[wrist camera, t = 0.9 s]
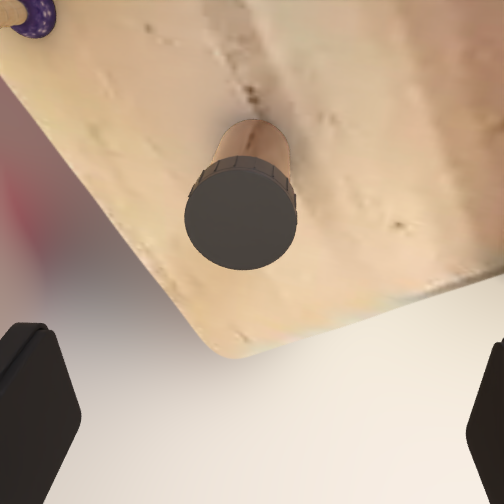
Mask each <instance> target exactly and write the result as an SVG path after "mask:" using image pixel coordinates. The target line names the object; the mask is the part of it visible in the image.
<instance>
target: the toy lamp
mask: <svg viewBox="0 0 504 504" xmlns="http://www.w3.org/2000/svg"><path fill="white" fill-rule="evenodd" d="M55 21H56V11H55V6H54V3H53V1H52V0H0V29H1V28H3V27H11V28H12V29H13V30H14V31H16V32H17V33H19V34H20V35H23V36H25V37H29V38H42V37H45V36H46V35H48V34H49V33H50V32H51V30H52V29H53V27H54V25H55Z"/></svg>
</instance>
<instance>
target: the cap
mask: <svg viewBox="0 0 504 504" xmlns="http://www.w3.org/2000/svg"><path fill="white" fill-rule="evenodd" d="M188 197H189V199H188V201H187V204H186V208H185V215H184V217H185V227H186V231H187V234H188V236H189V238H190V240H191V242H192V244H193V245H194V247H195V248H196V249H197V250H198V251H199V252H200V253H201V254H202V255H203V256H204V257H206V258H207V259H208V260H210V261H212V262H213V263H215V264H217V265H220V266H222V267H225V268H229V269H234V270H252V269H257V268H261V267H264V266H266V265H269V264H271V263H272V262H274V261H276V260H277V259H278V258H280V257H281V256H282V255H283V254H284V253H285V252H286V251H287V249H288V248H289V246H290V245H291V243H292V241H293V239H294V236H295V232H296V225H297V211H296V194H294V191H293V188H292V186H291V184H290V182H289V179H288V178H287V177H286V176H285V175H284V174H283V173H282V172H281V171H280V170H279V169H278V168H277V167H275V165H272V164H271V163H269V162H267V161H265V160H263V159H260V158H258V157H252V156H238V155H236V156H232V157H227V158H224V159H221V160H218V161H217V162H215V163H213V164H212V165H210V166H209V167H208V168H207V169H206V170H203V172H202V174H201V175H200V177H199V178H198V180H197V182H196V184H194V185H193V187H192V190H191V192H190V194H189V196H188Z"/></svg>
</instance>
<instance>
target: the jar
mask: <svg viewBox="0 0 504 504" xmlns="http://www.w3.org/2000/svg"><path fill="white" fill-rule="evenodd" d="M236 155H238V156H252V157H258V158H260V159H263V160H265V161H267V162H269V163H271V164H272V165H275V167H277V168H278V169H279V170H280V171H281V172H282V173H283V174H284V175H285V176H286V177H287V178H288V179H289V182H290V150H289V145H288V142H287V140H286V138H285V137H284V135H283V134H282V132H281V131H280V130H279V129H278V128H276V127H275V126H274V125H272V124H270V123H268V122H265V121H262V120H255V119H251V120H244V121H241V122H239V123H237V124H235V125H233V126H232V127H230V128H229V129H228V130H227V131H226V133H225V134H224V135H223V137H222V139H221V141H220V144H219V146H218V148H217V151H216V153H215V155H214V158H213V160H212V162H211V165H212V164H213V163H215V162H217V161H218V160H221V159H224V158H227V157H232V156H236Z"/></svg>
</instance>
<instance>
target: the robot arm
mask: <svg viewBox="0 0 504 504" xmlns="http://www.w3.org/2000/svg"><path fill="white" fill-rule="evenodd" d="M80 423H81V410H80V407H79V404H78V401H77V398H76V395H75V392H74V389H73V386H72V383H71V380H70V377H69V374H68V371H67V368H66V365H65V362H64V359H63V356H62V353H61V350H60V347H59V344H58V341H57V338H56V335H55V333H54V332H53V331H52V330H49V329H48V328H47V326H46V325H45V324H43V323H15V324H14V325H12V327H10V329H9V330H8V331H7V332H6V333H5V335H4V336H3V337H2V338H1V340H0V504H43V502H44V500H45V498H46V496H47V494H48V492H49V490H50V488H51V486H52V483H53V481H54V479H55V477H56V475H57V473H58V471H59V469H60V467H61V465H62V462H63V460H64V458H65V456H66V454H67V452H68V450H69V448H70V446H71V443H72V441H73V439H74V437H75V435H76V433H77V431H78V429H79V426H80ZM466 439H467V444H468V447H469V450H470V452H471V455H472V458H473V460H474V463H475V465H476V468H477V470H478V473H479V476H480V478H481V481H482V484H483V486H484V489H485V491H486V494H487V497H488V499H489V502H490V504H504V338H503V340H502V342H497V343H495V344H494V346H493V348H492V351H491V354H490V357H489V360H488V363H487V366H486V369H485V372H484V376H483V378H482V381H481V385H480V388H479V391H478V394H477V397H476V400H475V403H474V406H473V409H472V412H471V415H470V418H469V421H468V424H467V427H466Z"/></svg>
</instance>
